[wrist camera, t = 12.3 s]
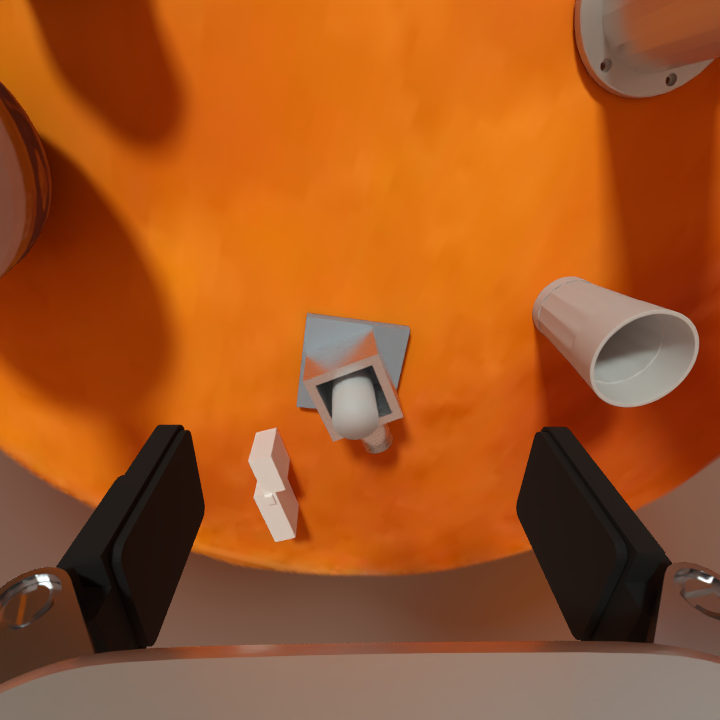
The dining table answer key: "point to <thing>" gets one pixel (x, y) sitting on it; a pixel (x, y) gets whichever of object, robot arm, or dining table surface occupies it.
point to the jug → (20, 183)
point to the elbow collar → (343, 361)
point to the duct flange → (355, 389)
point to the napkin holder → (274, 484)
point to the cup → (617, 340)
